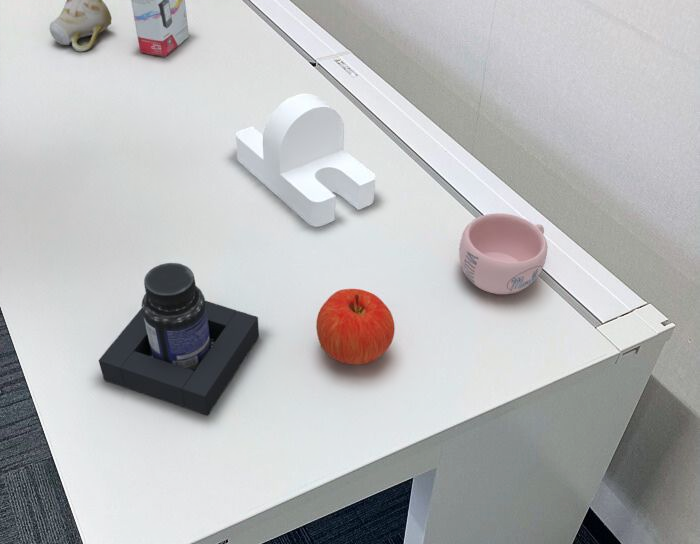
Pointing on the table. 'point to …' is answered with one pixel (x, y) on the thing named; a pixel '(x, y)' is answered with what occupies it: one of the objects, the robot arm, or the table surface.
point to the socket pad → (174, 381)
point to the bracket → (306, 159)
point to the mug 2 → (502, 252)
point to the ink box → (160, 25)
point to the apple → (355, 326)
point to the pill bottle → (175, 316)
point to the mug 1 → (80, 22)
